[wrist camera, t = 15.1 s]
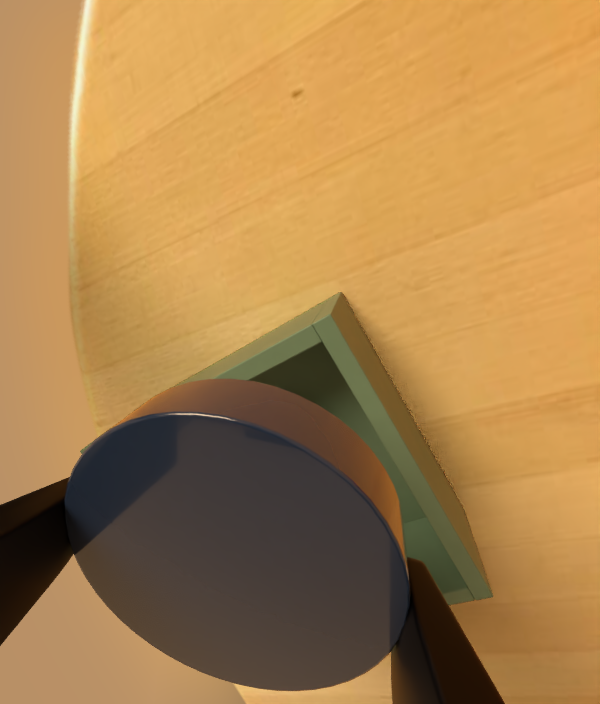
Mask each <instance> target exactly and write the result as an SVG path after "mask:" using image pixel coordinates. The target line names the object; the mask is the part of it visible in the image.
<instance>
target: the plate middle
mask: <svg viewBox="0 0 600 704" xmlns="http://www.w3.org/2000/svg"><path fill="white" fill-rule="evenodd" d="M64 515H65V522H66V529H67V534H68V538H69V542H70V545H71V548H72V551H73V553H74V555H75V558H76V560H77V562H78V564H79V566H80V568H81V570H82V572H83V574H84V575H85V577H86V579H87V580H88V582H89V583H90V585H91V586H92V588H93V589H94V590H95V592H96V593H97V595H98V596H99V597H100V598H101V599H102V601H103V602H104V603H105V604H106V605H107V607H108V608H109V609H110V610H111V611H112V612H113V613H114V614H115V615H116V616H117V617H118V618H119V619H120V620H121V621H122V622H123V623H124V624H126V625H127V626H128V627H129V628H130V629H131V630H132V631H134V632H135V633H136V634H138V635H139V636H140V637H142V638H143V639H144V640H145V641H147V642H148V643H149V644H151V645H152V646H154V647H155V648H157V649H159V650H160V651H162V652H163V653H165V654H166V655H168V656H170V657H172V658H174V659H175V660H177V661H179V662H181V663H183V664H185V665H187V666H189V667H191V668H194V669H196V670H198V671H200V672H202V673H205V674H208V675H211V676H213V677H216V678H219V679H222V680H225V681H229V682H232V683H236V684H239V685H244V686H249V687H254V688H259V689H267V690H276V691H304V690H316V689H321V688H327V687H332V686H335V685H338V684H342V683H345V682H348V681H350V680H352V679H355V678H357V677H359V676H361V675H363V674H365V673H366V672H368V671H369V670H371V669H372V668H374V667H375V666H376V665H378V664H379V663H380V662H381V661H382V660H383V659H384V658H385V657H386V656H387V655H388V654H389V653H390V652H391V650H392V649H393V648H394V646H395V645H396V643H397V642H398V640H399V637H400V635H401V632H402V629H403V627H404V624H405V621H406V619H407V616H408V612H409V607H410V603H411V597H410V575H409V566H408V557H407V548H406V539H405V530H404V521H403V516H402V510H401V505H400V501H399V499H398V496H397V493H396V490H395V487H394V485H393V483H392V481H391V479H390V477H389V475H388V473H387V472H386V470H385V468H384V466H383V465H382V463H381V462H380V461H379V459H378V458H377V457H376V455H375V454H374V452H373V451H372V450H371V448H370V447H369V446H368V445H367V444H366V443H365V442H364V441H363V440H362V439H361V438H360V437H359V436H358V435H357V433H356V432H354V431H353V430H352V429H351V428H350V427H348V426H347V425H346V424H345V423H344V422H342V421H341V420H340V419H339V418H338V417H336V416H335V415H333V414H332V413H330V412H328V411H327V410H325V409H324V408H322V407H321V406H319V405H318V404H316V403H314V402H312V401H310V400H308V399H306V398H304V397H302V396H300V395H298V394H295V393H292V392H290V391H287V390H284V389H281V388H279V387H276V386H272V385H268V384H263V383H259V382H255V381H248V380H239V379H206V380H200V381H193V382H188V383H185V384H182V385H178V386H175V387H172V388H170V389H168V390H165V391H163V392H161V393H159V394H157V395H155V396H154V397H153V398H151V399H150V400H148V401H147V402H146V403H144V404H143V405H141V406H140V407H139V408H137V409H136V410H135V411H133V412H132V413H130V414H129V415H128V416H126V417H125V418H124V419H122V420H121V421H120V422H118V423H117V424H116V425H114V426H113V427H112V428H110V429H109V430H107V431H106V432H105V433H103V434H102V435H101V436H99V437H98V438H97V439H95V440H94V441H93V442H92V444H91V445H90V446H89V447H88V448H87V449H86V450H85V451H84V452H83V454H82V455H81V457H80V458H79V460H78V461H77V463H76V465H75V466H74V468H73V471H72V473H71V476H70V478H69V481H68V483H67V489H66V494H65V504H64Z"/></svg>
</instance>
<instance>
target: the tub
mask: <svg viewBox="0 0 600 704" xmlns="http://www.w3.org/2000/svg"><path fill="white" fill-rule="evenodd" d="M206 379H239V380H248V381H255V382H259V383H263V384H268V385H272V386H276V387H279V388H281V389H284V390H287V391H290V392H292V393H295V394H298V395H300V396H302V397H304V398H306V399H308V400H310V401H312V402H314V403H316V404H318V405H319V406H321V407H322V408H324V409H325V410H327V411H328V412H330V413H332V414H333V415H335V416H336V417H338V418H339V419H340V420H341V421H342V422H344V423H345V424H346V425H347V426H348V427H350V428H351V429H352V430H353V431H354V432H356V433H357V435H358V436H359V437H360V438H361V439H362V440H363V441H364V442H365V443H366V444H367V445H368V446H369V447H370V448H371V450H372V451H373V452H374V454H375V455H376V457H377V458H378V459H379V461H380V462H381V463H382V465H383V466H384V468H385V470H386V472H387V473H388V475H389V477H390V479H391V481H392V483H393V485H394V487H395V490H396V493H397V496H398V499H399V501H400V505H401V510H402V516H403V521H404V530H405V539H406V548H407V557H411V558H414V559H418V560H421V561H422V562H423V563H424V564H425V565H426V567H427V569H428V571H429V572H430V574H431V576H432V578H433V579H434V581H435V583H436V584H437V586H438V588H439V590H440V591H441V593H442V595H443V597H444V598H445V600H446V602H447V604H448V605H452V604H458V603H463V602H468V601H474V600H481V599H486V598H491V597H493V593H492V590H491V587H490V584H489V581H488V579H487V576H486V573H485V570H484V567H483V564H482V561H481V558H480V555H479V552H478V549H477V546H476V543H475V541H474V538H473V535H472V532H471V529H470V526H469V523H468V520H467V517H466V514H465V511H464V509H463V507H462V505H461V503H460V502H459V500H458V498H457V496H456V495H455V493H454V491H453V489H452V487H451V486H450V484H449V482H448V480H447V479H446V477H445V475H444V473H443V471H442V470H441V468H440V466H439V464H438V463H437V461H436V459H435V457H434V455H433V454H432V452H431V450H430V448H429V447H428V445H427V443H426V441H425V439H424V438H423V436H422V434H421V432H420V430H419V429H418V427H417V425H416V423H415V422H414V420H413V418H412V416H411V414H410V413H409V411H408V409H407V407H406V406H405V404H404V402H403V400H402V398H401V397H400V395H399V393H398V391H397V390H396V388H395V386H394V384H393V382H392V381H391V379H390V377H389V375H388V374H387V372H386V370H385V368H384V366H383V365H382V363H381V361H380V359H379V357H378V356H377V354H376V352H375V350H374V349H373V347H372V345H371V343H370V341H369V340H368V338H367V336H366V334H365V333H364V331H363V329H362V327H361V325H360V324H359V322H358V320H357V318H356V317H355V315H354V313H353V311H352V309H351V308H350V306H349V304H348V302H347V301H346V299H345V297H344V295H343V293H342V292H339V293H338V294H336V295H334V296H332V297H331V298H329V299H327V300H325V301H324V302H322V303H320V304H318V305H316V306H315V307H313V308H311V309H309V310H308V311H306V312H304V313H302V314H301V315H299V316H297V317H295V318H294V319H292V320H290V321H288V322H287V323H285V324H283V325H281V326H280V327H278V328H276V329H274V330H272V331H271V332H269V333H267V334H265V335H264V336H262V337H260V338H258V339H257V340H255V341H253V342H251V343H250V344H248V345H246V346H244V347H243V348H241V349H239V350H237V351H236V352H234V353H232V354H230V355H228V356H227V357H225V358H223V359H221V360H220V361H218V362H216V363H214V364H213V365H211V366H209V367H207V368H206V369H204V370H202V371H200V372H199V373H197V374H195V375H193V376H191V377H190V378H188V379H186V380H184V381H183V382H181V383H179V384H177V385H176V386H178V385H182V384H185V383H188V382H193V381H200V380H206ZM174 387H175V386H174ZM142 405H143V404H142ZM134 411H135V410H134ZM91 444H92V443H90V444H89V445H88V446H86V447H85V448H84V449H82V450H81V451H80V452H81V453H82V454H83V452H84V451H85V450H86V449H87V448H88V447H89V446H90V445H91Z"/></svg>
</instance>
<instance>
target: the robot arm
mask: <svg viewBox="0 0 600 704" xmlns="http://www.w3.org/2000/svg"><path fill="white" fill-rule="evenodd" d="M69 478H70V477H69ZM69 478H66V479H64V480H61V481H59V482H56V483H54V484H51V485H49V486H46V487H44V488H41V489H39V490H36V491H34V492H31V493H29V494H26V495H24V496H21V497H19V498H17V499H14V500H12V501H9V502H7V503H4V504H2V505H0V646H1V644H2V643H3V642H4V641H5V639H6V638H7V637H8V636H9V635H10V633H11V632H12V631H13V630H14V628H15V627H16V626H17V625H18V624H19V622H20V621H21V620H22V619H23V617H24V616H25V615H26V614H27V613H28V611H29V610H30V609H31V608H32V606H33V605H34V604H35V603H36V602H37V600H38V599H39V598H40V597H41V595H42V594H43V593H44V592H45V591H46V589H47V588H48V587H49V586H50V584H51V583H52V582H53V581H54V579H55V578H56V577H57V576H58V574H59V573H60V572H61V571H62V569H63V568H64V566H65V565H66V564H67V562H68V561H69V560H70V558H71V557H72V555H73V554H74V553H73V551H72V548H71V545H70V542H69V538H68V534H67V529H66V522H65V515H64V504H65V494H66V489H67V483H68V481H69ZM408 566H409V575H410V597H411V603H410V607H409V612H408V616H407V619H406V621H405V624H404V627H403V629H402V632H401V635H400V637H399V640H398V642H397V643H396V645H395V646H394V648H393V649H392V651H391V684H392V701H393V704H505V703H504V701H503V699H502V697H501V696H500V694H499V692H498V690H497V689H496V687H495V685H494V684H493V682H492V680H491V678H490V677H489V675H488V673H487V671H486V670H485V668H484V666H483V664H482V663H481V661H480V659H479V657H478V656H477V654H476V652H475V651H474V649H473V647H472V645H471V644H470V642H469V640H468V638H467V637H466V635H465V633H464V631H463V630H462V628H461V626H460V624H459V623H458V621H457V619H456V618H455V616H454V614H453V612H452V611H451V609H450V607H449V605H448V604H447V602H446V600H445V598H444V597H443V595H442V593H441V591H440V590H439V588H438V586H437V584H436V583H435V581H434V579H433V578H432V576H431V574H430V572H429V571H428V569H427V567H426V565H425V564H424V563H423V562H422V561H421V560H418V559H414V558H411V557H408Z"/></svg>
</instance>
